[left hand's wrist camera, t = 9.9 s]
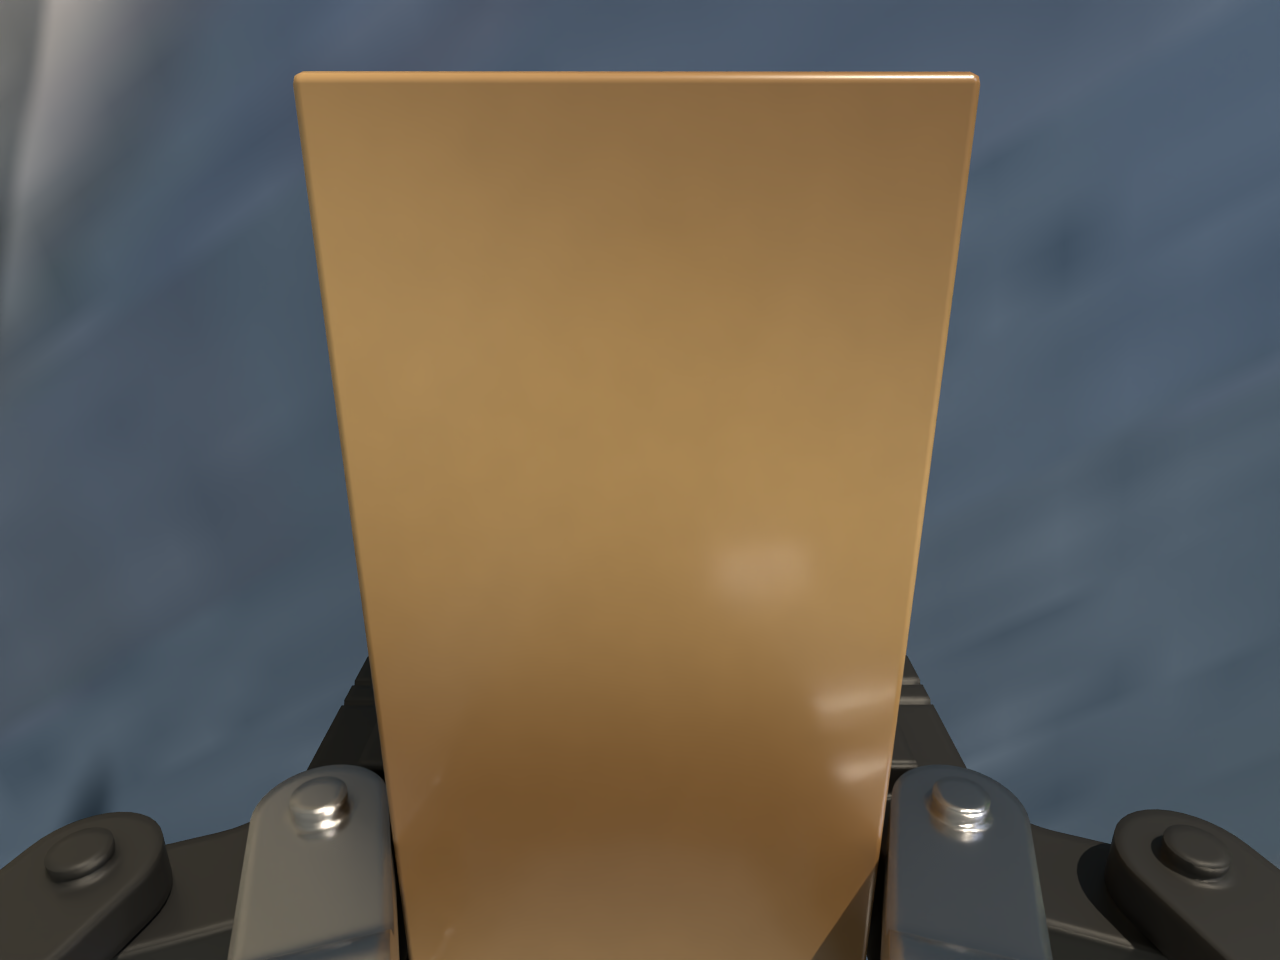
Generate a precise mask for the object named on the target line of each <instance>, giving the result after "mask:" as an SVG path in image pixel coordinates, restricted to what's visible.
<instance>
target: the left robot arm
mask: <svg viewBox="0 0 1280 960" xmlns="http://www.w3.org/2000/svg"><path fill="white" fill-rule="evenodd" d="M867 958H868V960H1280V870H1279V869H1278V868H1277V867H1275V866H1274V865H1273V864H1272V863H1270V862H1269V861H1268V860H1266V859H1265V858H1264V857H1263V856H1261V855H1260V854H1259V853H1257V852H1256V851H1255V850H1254V849H1252V848H1251V847H1250V846H1249V845H1247V844H1246V843H1244V842H1243V841H1242V840H1240V839H1239V838H1237V837H1236V836H1234V835H1233V834H1231V833H1229V832H1228V831H1226V830H1224V829H1222V828H1220V827H1218V826H1216V825H1214V824H1212V823H1210V822H1207V821H1205V820H1202V819H1200V818H1197V817H1194V816H1190V815H1187V814H1184V813H1179V812H1174V811H1168V810H1158V809H1157V810H1142V811H1136V812H1134V813H1131V814H1128V815H1127V816H1125V817H1124V818H1122V819H1121V820H1120V821H1119V823H1118V824H1117V825H1116V828H1115V831H1114V835H1113V839H1112V843H1111V844H1108V843H1103V842H1099V841H1095V840H1090V839H1086V838H1082V837H1077V836H1073V835H1069V834H1064V833H1060V832H1056V831H1052V830H1048V829H1045V828H1041V827H1038V826H1036V825H1033V824H1030V820H1029V817H1028V814H1027V812H1026V810H1025V808H1024V806H1023V805H1022V803H1021V802H1020V801H1019V800H1018V798H1017V797H1016V796H1015V795H1014V794H1013V793H1012V792H1011V791H1009V790H1008V789H1007V788H1006V787H1004V786H1003V785H1001V784H1000V783H998V782H997V781H995V780H993V779H992V778H990V777H988V776H985V775H983V774H981V773H979V772H976V771H973V770H970V769H967V768H966V766H965V764H964V762H963V761H962V759H961V757H960V755H959V753H958V751H957V749H956V747H955V745H954V743H953V742H952V740H951V738H950V736H949V734H948V732H947V730H946V728H945V726H944V725H943V723H942V721H941V719H940V717H939V715H938V713H937V711H936V709H935V708H934V706H933V705H931V704H930V698H929V696H928V694H927V692H926V690H925V689H924V687H923V685H920V679H919V677H918V675H917V673H916V672H915V670H914V668H913V666H912V664H911V662H910V660H909V658H908V656H905V664H904V671H903V679H902V687H901V694H900V702H899V710H898V717H897V725H896V732H895V740H894V748H893V755H892V763H891V771H890V778H889V786H888V794H887V801H886V809H885V817H884V824H883V832H882V840H881V847H880V855H879V862H878V870H877V878H876V885H875V893H874V901H873V908H872V916H871V924H870V931H869V939H868V947H867ZM0 960H409V956H408V949H407V941H406V933H405V926H404V918H403V911H402V903H401V896H400V888H399V881H398V873H397V865H396V858H395V850H394V843H393V835H392V828H391V820H390V813H389V805H388V797H387V790H386V782H385V775H384V767H383V760H382V752H381V745H380V737H379V729H378V722H377V714H376V707H375V699H374V692H373V684H372V677H371V669H370V661H369V656H368V657H367V659H366V661H365V663H364V665H363V667H362V668H361V670H360V672H359V674H358V676H357V678H356V680H355V685H354V686H352V687H351V689H350V691H349V693H348V695H347V696H346V698H345V700H344V705H342V706H341V708H340V709H339V711H338V713H337V715H336V717H335V719H334V721H333V722H332V724H331V726H330V728H329V730H328V732H327V734H326V735H325V737H324V739H323V741H322V743H321V745H320V747H319V749H318V750H317V752H316V754H315V756H314V758H313V760H312V762H311V763H310V765H309V767H308V769H307V771H304V772H301V773H299V774H297V775H295V776H292V777H290V778H288V779H287V780H285V781H283V782H282V783H280V784H278V785H277V786H276V787H274V788H273V789H272V790H270V791H269V792H268V793H267V794H266V795H265V796H264V797H263V798H262V800H261V801H260V802H259V803H258V805H257V806H256V808H255V810H254V812H253V814H252V817H251V820H250V822H249V823H246V824H244V825H241V826H239V827H236V828H233V829H230V830H226V831H223V832H219V833H215V834H210V835H206V836H202V837H197V838H193V839H189V840H185V841H180V842H176V843H172V844H167V845H165V841H164V837H163V834H162V831H161V828H160V826H159V825H158V824H157V823H156V821H154V820H153V819H151V818H150V817H148V816H145V815H142V814H138V813H132V812H114V813H105V814H100V815H95V816H92V817H88V818H85V819H81V820H79V821H76V822H73V823H71V824H68V825H66V826H64V827H62V828H60V829H58V830H56V831H54V832H52V833H50V834H48V835H47V836H45V837H43V838H42V839H40V840H39V841H37V842H36V843H34V844H33V845H32V846H30V847H29V848H28V849H26V850H25V851H24V852H22V853H21V854H20V855H19V856H17V857H16V858H15V859H14V860H12V861H11V862H10V863H8V864H7V865H6V866H5V867H3V868H2V869H1V870H0Z"/></svg>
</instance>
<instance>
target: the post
mask: <svg viewBox="0 0 1280 960" xmlns="http://www.w3.org/2000/svg"><path fill="white" fill-rule="evenodd" d="M293 87H294V95H295V102H296V110H297V117H298V125H299V133H300V140H301V148H302V155H303V163H304V170H305V178H306V185H307V193H308V201H309V208H310V216H311V223H312V231H313V238H314V246H315V253H316V261H317V269H318V276H319V284H320V291H321V299H322V306H323V314H324V321H325V329H326V337H327V344H328V352H329V359H330V367H331V374H332V382H333V389H334V397H335V405H336V412H337V420H338V427H339V435H340V442H341V450H342V457H343V465H344V473H345V480H346V488H347V495H348V503H349V510H350V518H351V525H352V533H353V541H354V548H355V556H356V563H357V571H358V578H359V586H360V593H361V601H362V609H363V616H364V624H365V631H366V639H367V646H368V654H369V661H370V669H371V677H372V684H373V692H374V699H375V707H376V714H377V722H378V729H379V737H380V745H381V752H382V760H383V767H384V775H385V782H386V790H387V797H388V805H389V813H390V820H391V828H392V835H393V843H394V850H395V858H396V865H397V873H398V881H399V888H400V896H401V903H402V911H403V918H404V926H405V933H406V941H407V949H408V956H409V960H866V954H867V947H868V939H869V931H870V924H871V916H872V908H873V901H874V893H875V885H876V878H877V870H878V862H879V855H880V847H881V840H882V832H883V824H884V817H885V809H886V801H887V794H888V786H889V778H890V771H891V763H892V755H893V748H894V740H895V732H896V725H897V717H898V710H899V702H900V694H901V687H902V679H903V671H904V664H905V656H906V648H907V641H908V633H909V625H910V618H911V610H912V602H913V595H914V587H915V580H916V572H917V564H918V557H919V549H920V541H921V534H922V526H923V518H924V511H925V503H926V495H927V488H928V480H929V472H930V465H931V457H932V449H933V442H934V434H935V427H936V419H937V411H938V404H939V396H940V388H941V381H942V373H943V365H944V358H945V350H946V342H947V335H948V327H949V319H950V312H951V304H952V297H953V289H954V281H955V274H956V266H957V258H958V251H959V243H960V235H961V228H962V220H963V212H964V205H965V197H966V189H967V182H968V174H969V167H970V159H971V151H972V144H973V136H974V128H975V121H976V113H977V105H978V98H979V90H980V81H979V76H978V75H976V74H974V73H971V72H405V71H303V72H301V73H299V74H297V75H295V77H294V82H293Z"/></svg>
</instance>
